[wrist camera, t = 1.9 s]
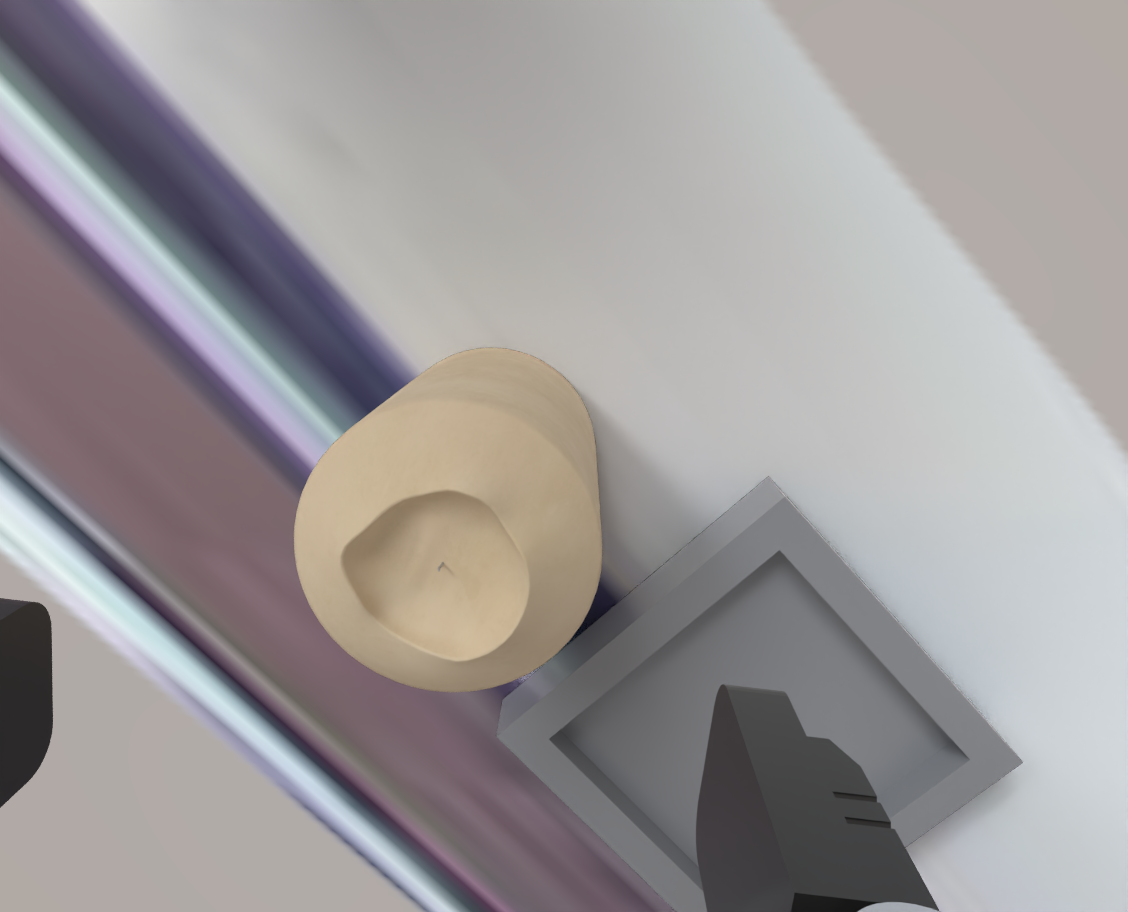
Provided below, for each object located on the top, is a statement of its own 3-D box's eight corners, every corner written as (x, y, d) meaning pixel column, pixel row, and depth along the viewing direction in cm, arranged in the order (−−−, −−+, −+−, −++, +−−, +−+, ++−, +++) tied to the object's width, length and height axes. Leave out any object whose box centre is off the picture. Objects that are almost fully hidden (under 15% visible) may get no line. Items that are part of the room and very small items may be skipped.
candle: (365, 498, 24) (220, 664, 15) (435, 313, 23) (328, 358, 13) (549, 571, 25) (528, 781, 15) (627, 393, 23) (659, 494, 14)
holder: (502, 699, 26) (496, 736, 24) (768, 476, 24) (785, 496, 22) (724, 918, 27) (735, 969, 25) (989, 723, 25) (1023, 762, 23)
